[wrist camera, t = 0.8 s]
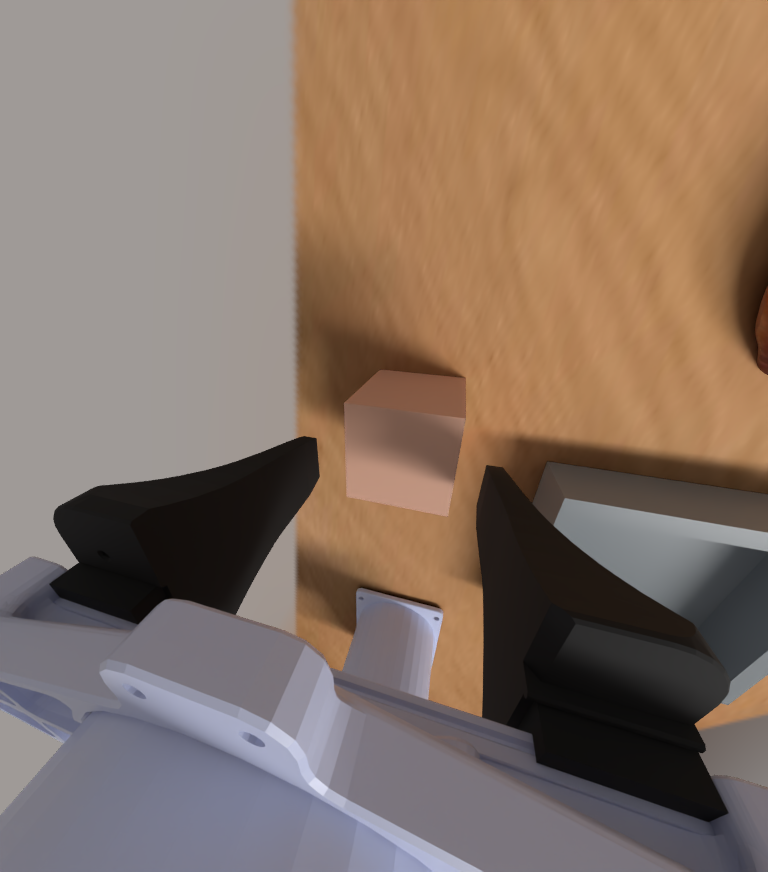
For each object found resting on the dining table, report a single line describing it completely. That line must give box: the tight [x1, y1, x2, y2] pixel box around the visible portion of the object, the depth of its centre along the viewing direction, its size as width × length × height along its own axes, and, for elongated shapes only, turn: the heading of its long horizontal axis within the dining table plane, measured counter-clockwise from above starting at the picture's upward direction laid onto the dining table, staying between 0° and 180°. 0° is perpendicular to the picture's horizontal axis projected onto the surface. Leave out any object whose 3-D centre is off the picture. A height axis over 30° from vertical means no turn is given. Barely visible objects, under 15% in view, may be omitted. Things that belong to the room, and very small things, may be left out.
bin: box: [532, 461, 768, 705], centre depth 17 cm, size 13×13×4 cm
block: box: [344, 369, 466, 517], centre depth 15 cm, size 5×5×6 cm
